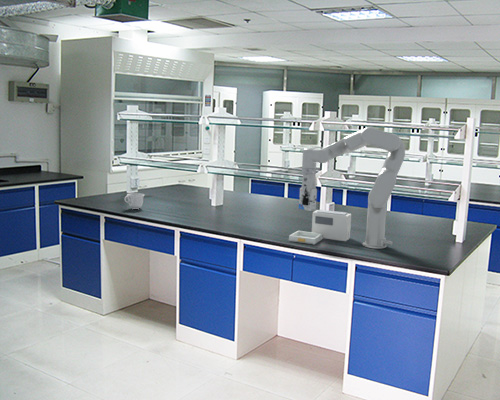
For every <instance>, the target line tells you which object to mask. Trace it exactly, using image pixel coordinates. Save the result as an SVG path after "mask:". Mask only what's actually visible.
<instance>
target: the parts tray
mask: <svg viewBox="0 0 500 400" xmlns="http://www.w3.org/2000/svg"><path fill="white" fill-rule="evenodd" d="M323 239H324V238H323V234H320V233H313V232H312V231H303V230H297V231H295V232H293V233H290V234H288V241H289V242H295V243H301V244H308V245H316V244H318V243H319V242H321V241H322V240H323Z"/></svg>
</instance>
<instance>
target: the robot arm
mask: <svg viewBox="0 0 500 400" xmlns="http://www.w3.org/2000/svg"><path fill="white" fill-rule="evenodd" d="M369 145H370V146H372V147H375V148H378V149H381V150H385V151H387V155H386V158H385V159H384V162H383V165H382V167H381V169H380V171H379V172H378V174H377V177H376V179H375V181H374V184H373V185H372V188H371V189H370V191H369V192H368V196H367V197H368V198H367V216H366V230H365V232H366V233H365V241H362V243H361V244H362V246H363V247H364V248H368V249H375V250H376V249H377V250H378V249H379V250H381V249H385V248H386V249H387V245H389V246H392V245H393V241H391V240H387V238H386V237H385V233H386V220H387V219H386V218H387V206H388V200H389V198H390V196H391V194H392V192H393V190H394V188H395V185H396V183H397V176H398V174H399V172H400V170H401V167H402V165H403V162H404V160H405V158H406V157H405V154H406V148H405V145H404V142H403V140H402V139H401V138H400V137H399V136H398V134H396V133H389V132H387V131H383V130H381V129H378V128H375V127H374V126H367V127H365V128H363V129H360V130H358V131H356V132H354V133H351V134H349V135H347V136H345V137H343V138H341V139H340V140H338V141H335V142H334V143H332V144H329V145H327V146H325V147H322V148H320V149H319V148H318V149H317V148H313V147H305V148H304V149H303V150H302V159H301V160H302V162H301V163H302V164H301V175H302V178H301V179H302V180H301V188H302V194H303V196H302V197H303V200H302V205H308V200H309V198H308V194H309V193H311V189H313V188H316V187H317V185H316V184H317V181H316V174H317V163H318V164H319V163H320V164H326V163H328V162H329V161H331V160H332V159H335V158H337V157H339V156H342V155H344V154H350V153H353V152H355V151H357V150H359V149H361V148H363V147H366V146H369ZM316 189H317V188H316ZM305 191H307V192H305ZM305 193H306V194H307V195H306V194H305Z"/></svg>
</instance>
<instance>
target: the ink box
mask: <svg viewBox="0 0 500 400" xmlns="http://www.w3.org/2000/svg"><path fill="white" fill-rule="evenodd" d="M305 192H307V191H305ZM305 194H306V193H305ZM317 194H318V189H317V188H313V189H311V193H309V194H308V198H309V200H308V205H302V200H303V197H302V196H303V194H302V187H299V199H298V209H300V210H304V211H309V212H311V211H316V210H317ZM306 195H307V194H306Z"/></svg>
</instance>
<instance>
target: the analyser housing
mask: <svg viewBox="0 0 500 400" xmlns="http://www.w3.org/2000/svg"><path fill="white" fill-rule="evenodd" d="M351 226H352V213H348V212H345V211H336V210H327V209H316V210H313V212H312V218H311V232H313V233H320V234H323V239H328V240H332V241H333V240H334V241H341V242H347V241H348V240H350V238H351Z"/></svg>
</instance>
